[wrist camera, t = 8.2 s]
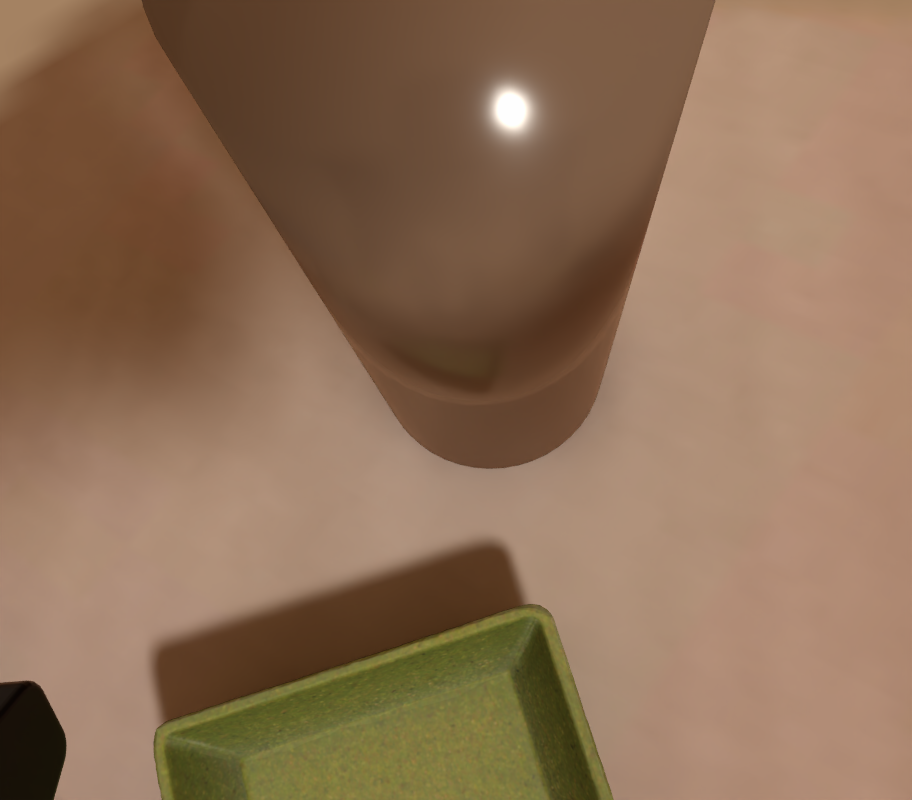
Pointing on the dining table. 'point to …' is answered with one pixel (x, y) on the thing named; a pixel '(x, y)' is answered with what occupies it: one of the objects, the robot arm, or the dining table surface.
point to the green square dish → (402, 726)
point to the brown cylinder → (454, 184)
